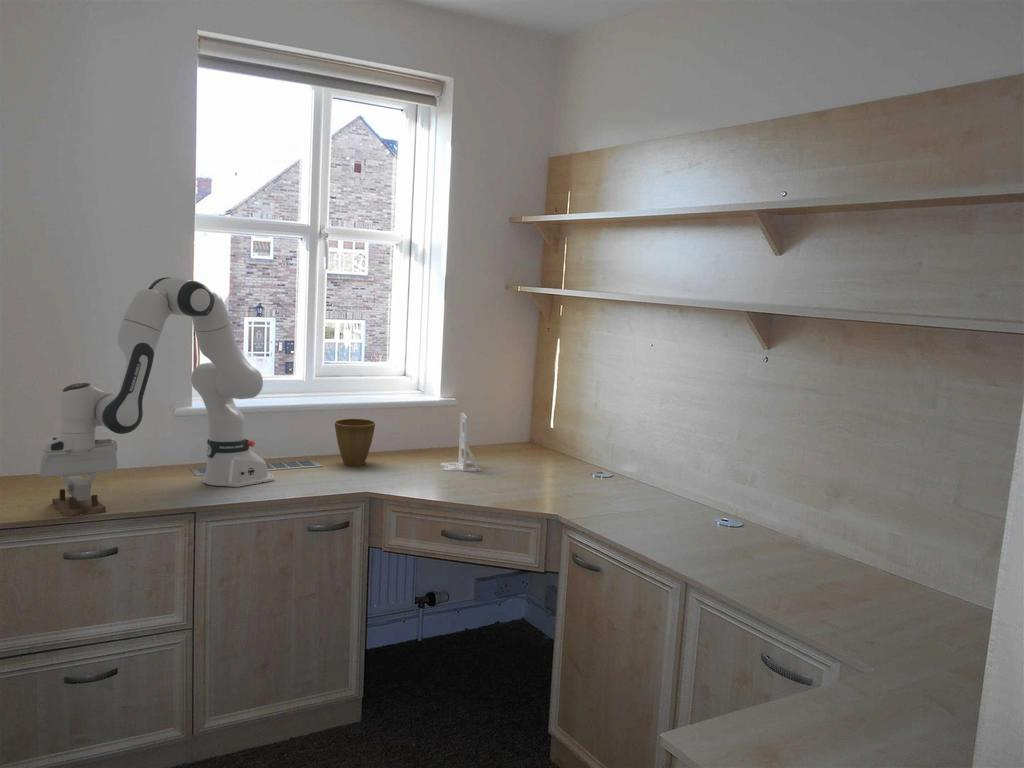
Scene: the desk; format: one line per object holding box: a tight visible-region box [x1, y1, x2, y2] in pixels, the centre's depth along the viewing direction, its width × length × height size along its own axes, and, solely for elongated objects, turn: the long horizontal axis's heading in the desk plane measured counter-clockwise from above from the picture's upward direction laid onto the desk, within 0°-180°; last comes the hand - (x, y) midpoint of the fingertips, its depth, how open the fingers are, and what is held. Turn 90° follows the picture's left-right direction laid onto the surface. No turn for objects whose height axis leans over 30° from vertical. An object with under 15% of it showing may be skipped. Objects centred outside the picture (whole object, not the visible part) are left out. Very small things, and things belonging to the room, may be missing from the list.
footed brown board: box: [51, 488, 106, 517], centre depth 238 cm, size 10×16×4 cm, turn 40°
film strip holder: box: [439, 412, 481, 473], centre depth 314 cm, size 14×14×20 cm
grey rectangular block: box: [66, 475, 92, 501], centre depth 237 cm, size 3×12×4 cm, turn 40°
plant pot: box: [334, 418, 376, 467], centre depth 311 cm, size 15×15×16 cm
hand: (78, 489), depth 238 cm, fingers closed on grey rectangular block, 3 cm apart
